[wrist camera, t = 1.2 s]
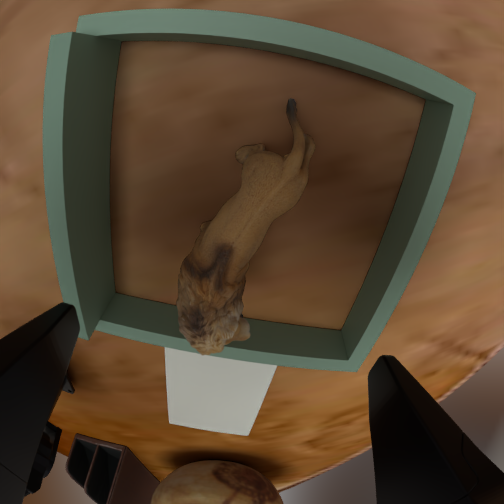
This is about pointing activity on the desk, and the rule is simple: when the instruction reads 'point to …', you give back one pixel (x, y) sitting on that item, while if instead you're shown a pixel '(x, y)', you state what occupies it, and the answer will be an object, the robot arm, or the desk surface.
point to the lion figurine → (238, 242)
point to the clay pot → (215, 485)
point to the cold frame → (98, 178)
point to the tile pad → (214, 391)
